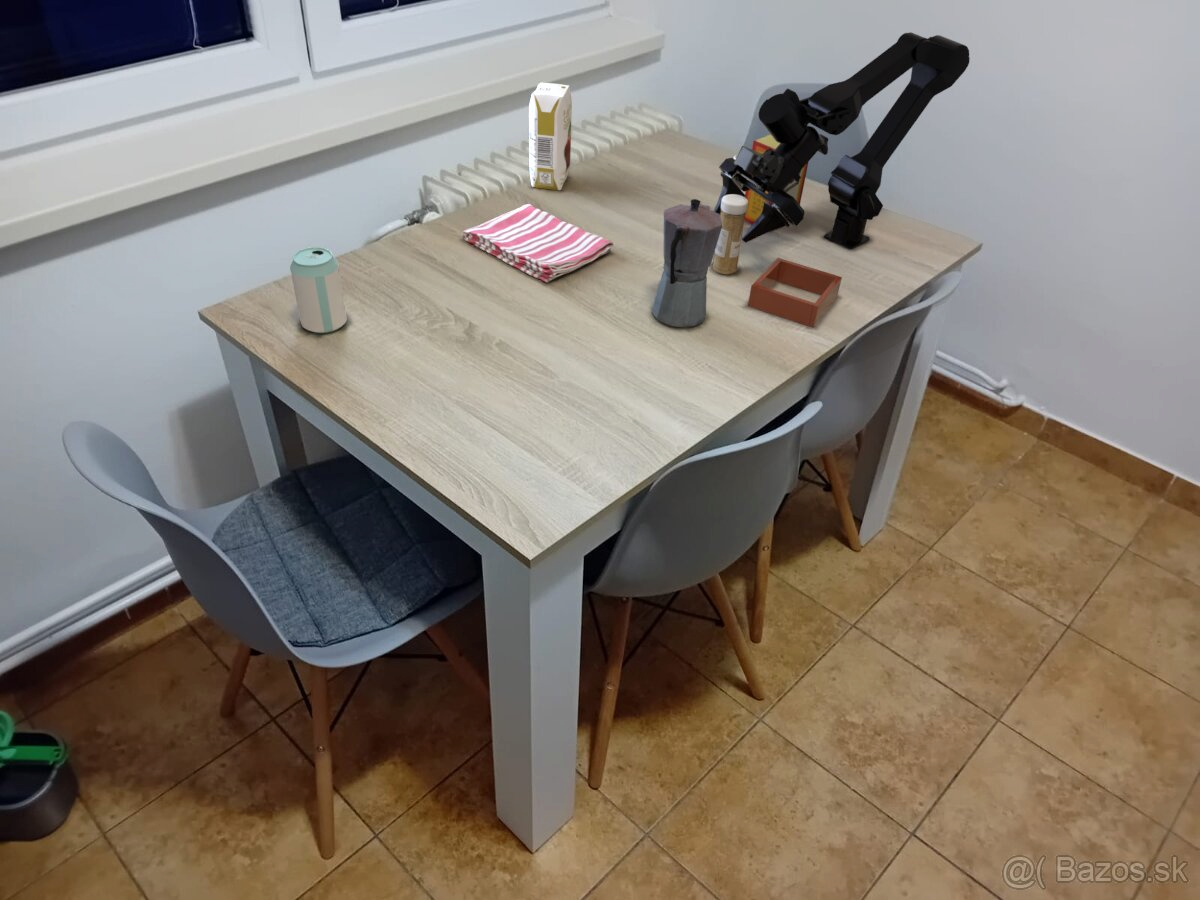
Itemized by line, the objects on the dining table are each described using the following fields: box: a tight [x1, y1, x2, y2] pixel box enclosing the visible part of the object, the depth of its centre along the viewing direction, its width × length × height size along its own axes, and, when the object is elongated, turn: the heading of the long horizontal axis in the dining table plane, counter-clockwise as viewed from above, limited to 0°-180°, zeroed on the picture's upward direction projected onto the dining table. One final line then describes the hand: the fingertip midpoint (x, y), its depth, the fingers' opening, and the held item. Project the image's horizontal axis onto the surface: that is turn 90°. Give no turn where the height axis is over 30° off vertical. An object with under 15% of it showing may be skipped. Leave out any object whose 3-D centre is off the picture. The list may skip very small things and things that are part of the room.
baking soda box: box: [744, 134, 809, 225], centre depth 175 cm, size 10×6×16 cm
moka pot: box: [651, 198, 722, 328], centre depth 144 cm, size 10×15×20 cm, turn 161°
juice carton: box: [528, 81, 573, 191], centre depth 182 cm, size 8×9×19 cm
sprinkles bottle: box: [712, 194, 748, 275], centre depth 159 cm, size 5×5×14 cm
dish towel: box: [461, 203, 615, 283], centre depth 166 cm, size 17×23×4 cm
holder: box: [747, 257, 843, 328], centre depth 155 cm, size 12×12×4 cm
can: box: [289, 246, 348, 334], centre depth 140 cm, size 7×7×12 cm
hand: (728, 229), depth 158 cm, fingers open, 9 cm apart
